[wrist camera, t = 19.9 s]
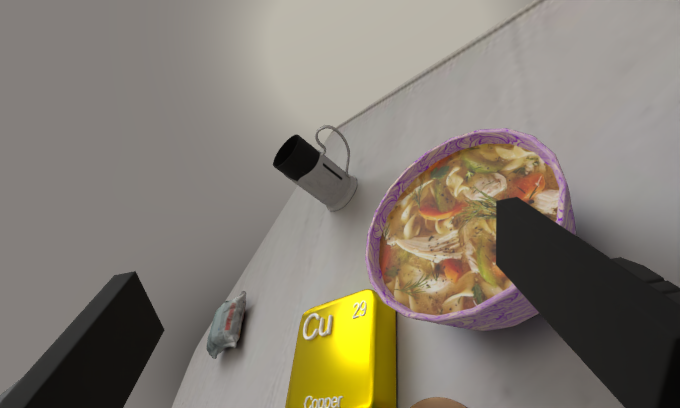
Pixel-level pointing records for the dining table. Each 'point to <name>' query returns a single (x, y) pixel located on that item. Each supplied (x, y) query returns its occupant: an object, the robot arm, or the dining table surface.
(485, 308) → the bowl of food
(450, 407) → the cork trivet
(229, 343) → the packaged food
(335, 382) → the element tile
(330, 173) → the glass holder
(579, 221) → the dining table surface
